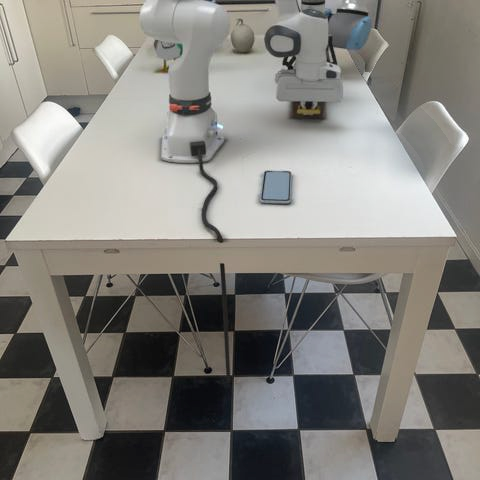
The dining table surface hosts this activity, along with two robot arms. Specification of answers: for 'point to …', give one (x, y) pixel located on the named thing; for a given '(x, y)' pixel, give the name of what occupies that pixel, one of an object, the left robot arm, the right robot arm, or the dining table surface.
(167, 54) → the toy
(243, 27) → the fruit
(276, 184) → the smartphone
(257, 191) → the dining table surface
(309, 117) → the drawer
